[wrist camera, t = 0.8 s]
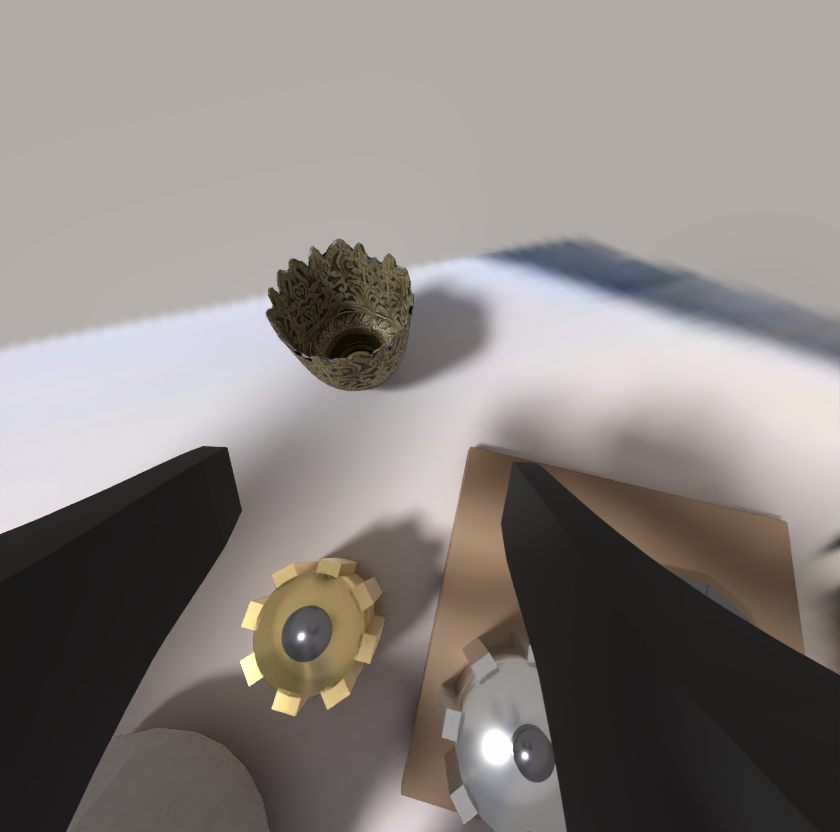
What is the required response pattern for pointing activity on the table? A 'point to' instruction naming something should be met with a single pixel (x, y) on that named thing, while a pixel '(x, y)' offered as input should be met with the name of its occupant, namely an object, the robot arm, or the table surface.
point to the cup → (344, 315)
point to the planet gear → (313, 632)
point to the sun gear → (501, 741)
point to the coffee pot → (169, 787)
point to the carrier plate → (636, 521)
